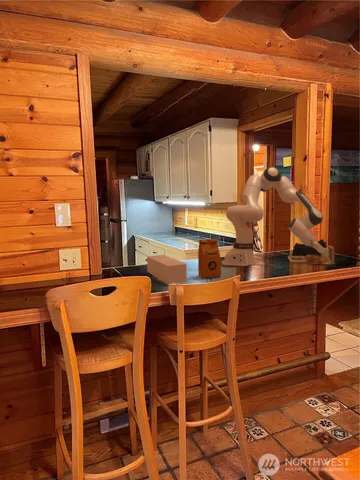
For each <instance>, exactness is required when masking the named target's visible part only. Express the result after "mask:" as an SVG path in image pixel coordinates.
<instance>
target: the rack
mask: <svg viewBox="0 0 360 480" xmlns="http://www.w3.org/2000/svg"><path fill="white" fill-rule="evenodd" d="M327 248H329V251H328V258H321V256H318V259H317V263H307V264H309V265H311V264H313V265H318V264H319V265H321V264H322V265H335V247H333V246H331V245H327Z"/></svg>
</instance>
